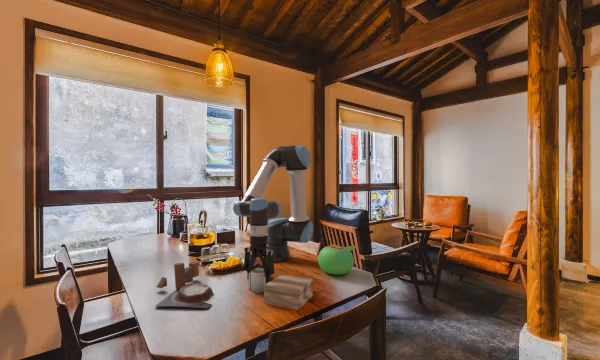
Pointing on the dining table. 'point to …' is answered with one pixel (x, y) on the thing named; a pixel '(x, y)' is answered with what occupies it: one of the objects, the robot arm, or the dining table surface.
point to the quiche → (189, 296)
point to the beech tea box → (288, 291)
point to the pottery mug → (259, 267)
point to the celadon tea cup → (257, 280)
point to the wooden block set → (182, 275)
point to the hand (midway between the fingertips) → (258, 289)
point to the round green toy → (336, 259)
